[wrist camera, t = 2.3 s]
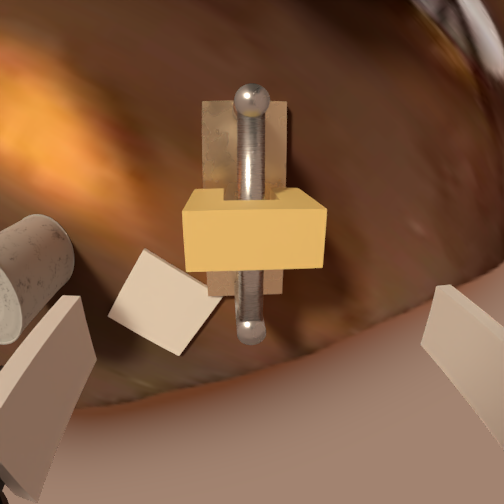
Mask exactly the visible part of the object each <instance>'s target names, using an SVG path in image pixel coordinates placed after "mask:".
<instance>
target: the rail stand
mask: <svg viewBox="0 0 504 504" xmlns="http://www.w3.org/2000/svg"><path fill="white" fill-rule="evenodd" d="M286 151H287V102H282V101H270V97H269V94H268V92H267V91H266V89H265V88H263V87H262V86H260V85H258V84H246V85H244V86H242V87H241V88H240V89H239V90H238V91H237V92H236V95H235V98H234V101H202V160H203V189H218V188H224V201H227V200H270V188H286ZM282 284H283V269H276V270H243V271H207V286H208V296H235V310H236V324H237V336H238V339H239V340H240V341H241V342H242V343H244V344H247V345H255V344H258V343H260V342H261V341H263V339H264V338H265V336H266V328H265V324H264V319H263V294H282Z"/></svg>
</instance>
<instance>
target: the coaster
mask: <svg viewBox="0 0 504 504" xmlns="http://www.w3.org/2000/svg"><path fill="white" fill-rule="evenodd" d="M222 297H223V296H208V286H207V285H205V284H203V283H202V282H200V281H198V280H197V279H195V278H193V277H192V276H190V275H188V274H187V273H185V272H183V271H182V270H180V269H178V268H177V267H175V266H173V265H172V264H170V263H168V262H167V261H165V260H164V259H162V258H160V257H159V256H157V255H155V254H154V253H152V252H151V251H149V250H147V249H146V248H144V250H143V252H142V253H141V255H140V257H139V259H138V260H137V262H136V264H135V266H134V268H133V269H132V271H131V273H130V275H129V277H128V278H127V280H126V282H125V284H124V286H123V288H122V290H121V291H120V293H119V295H118V297H117V299H116V301H115V303H114V305H113V307H112V309H111V311H110V312H109V314H108V317H110V318H111V319H113V320H115V321H116V322H118V323H120V324H122V325H123V326H125V327H127V328H128V329H130V330H132V331H134V332H135V333H137V334H139V335H141V336H142V337H144V338H146V339H148V340H150V341H152V342H153V343H155V344H157V345H159V346H161V347H163V348H165V349H166V350H168V351H170V352H172V353H174V354H176V355H178V356H180V354H181V353H182V351H183V350H184V349H185V347H186V346H187V345H188V343H189V342H190V341H191V339H192V338H193V337H194V335H195V334H196V333H197V331H198V330H199V328H200V327H201V326H202V324H203V323H204V322H205V320H206V319H207V318H208V316H209V315H210V314H211V312H212V311H213V310H214V308H215V307H216V305H217V304H218V303H219V301H220V300H221V299H222Z"/></svg>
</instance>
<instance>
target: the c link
mask: <svg viewBox="0 0 504 504" xmlns="http://www.w3.org/2000/svg"><path fill="white" fill-rule="evenodd" d="M326 217H327V209H326V208H325V207H323V206H322V205H321V204H319V203H318V202H317V201H315V200H314V199H313V198H311V197H310V196H309V195H307V194H306V193H305V192H303V191H302V190H300V189H299V188H270V200H227V201H224V188H218V189H195V190H194V191H193V193H192V195H191V196H190V198H189V200H188V202H187V203H186V205H185V207H184V209H183V211H182V219H183V236H184V250H185V264H186V272H204V271H243V270H276V269H305V268H323V258H324V245H325V232H326Z"/></svg>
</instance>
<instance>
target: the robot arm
mask: <svg viewBox="0 0 504 504" xmlns="http://www.w3.org/2000/svg"><path fill="white" fill-rule="evenodd" d="M420 345H421V346H422V347H423V348H424V350H425V351H426V352H427V353H428V354H429V355H430V357H431V358H432V359H433V360H434V361H435V363H436V364H437V365H438V366H439V367H440V368H441V370H442V371H443V372H444V374H445V375H446V376H447V377H448V378H449V379H450V381H451V382H452V383H453V385H454V386H455V387H456V388H457V390H458V391H459V392H460V393H461V395H462V396H463V397H464V399H465V400H466V401H467V402H468V404H469V405H470V406H471V408H472V409H473V410H474V411H475V413H476V414H477V415H478V417H479V418H480V419H481V421H482V422H483V423H484V424H485V426H486V427H487V429H488V430H489V431H490V433H491V434H492V435H493V437H494V438H495V439H496V441H497V442H498V443H499V445H500V446H501V448H502V449H503V451H504V327H503V326H502V325H500V324H499V323H498V322H497V321H496V320H494V319H493V318H492V317H491V316H490V315H488V314H487V313H486V312H485V311H483V310H482V309H481V308H480V307H478V306H477V305H476V304H474V303H473V302H472V301H471V300H469V299H468V298H467V297H466V296H464V295H463V294H462V293H460V292H459V291H458V290H457V289H455V288H454V287H453V286H451V285H443V286H436V290H435V294H434V298H433V302H432V306H431V310H430V314H429V317H428V321H427V324H426V328H425V331H424V334H423V338H422V341H421V344H420ZM96 360H97V359H96V355H95V352H94V348H93V345H92V341H91V337H90V334H89V330H88V326H87V322H86V318H85V314H84V309H83V305H82V301H81V296H66V295H62V296H61V298H60V299H59V300H58V301H57V302H56V303H55V304H54V305H53V307H52V308H51V309H50V310H49V311H48V312H47V314H46V315H45V316H44V317H43V318H42V319H41V321H40V322H39V323H38V324H37V325H36V327H35V328H34V329H33V330H32V331H31V333H30V334H29V335H28V336H27V338H26V339H25V340H24V341H23V343H22V344H21V345H20V346H19V348H18V349H17V350H16V351H15V353H14V354H13V355H12V357H11V358H10V359H9V360H8V362H7V363H6V364H5V366H2V365H1V366H0V504H9V503H8V500H7V498H6V496H5V495H4V493H3V492H2V489H3V487H4V485H6V486H7V487H8V488H9V489H10V490H11V491H12V492H13V493H14V494H15V495H17V496H19V497H22V498H24V499H27V500H30V501H33V502H35V503H38V500H39V497H40V494H41V491H42V488H43V485H44V482H45V480H46V477H47V474H48V471H49V469H50V466H51V463H52V461H53V458H54V456H55V453H56V451H57V448H58V445H59V443H60V440H61V438H62V435H63V433H64V431H65V428H66V426H67V423H68V421H69V419H70V417H71V414H72V412H73V410H74V407H75V405H76V403H77V401H78V398H79V396H80V394H81V392H82V390H83V387H84V385H85V383H86V381H87V379H88V377H89V375H90V373H91V370H92V368H93V366H94V364H95V362H96Z"/></svg>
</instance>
